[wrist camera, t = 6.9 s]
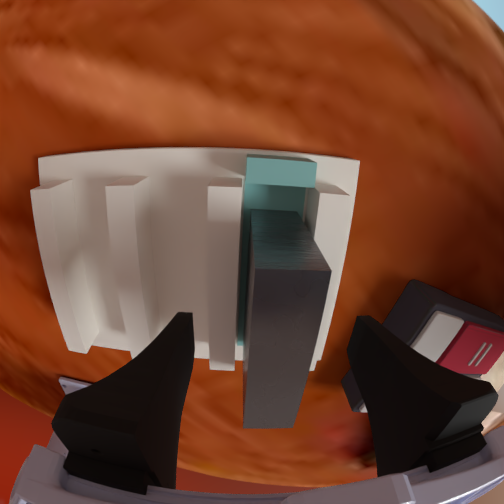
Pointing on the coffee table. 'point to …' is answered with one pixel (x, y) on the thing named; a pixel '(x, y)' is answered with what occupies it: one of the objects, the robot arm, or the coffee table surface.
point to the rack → (176, 238)
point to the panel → (280, 316)
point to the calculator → (440, 334)
